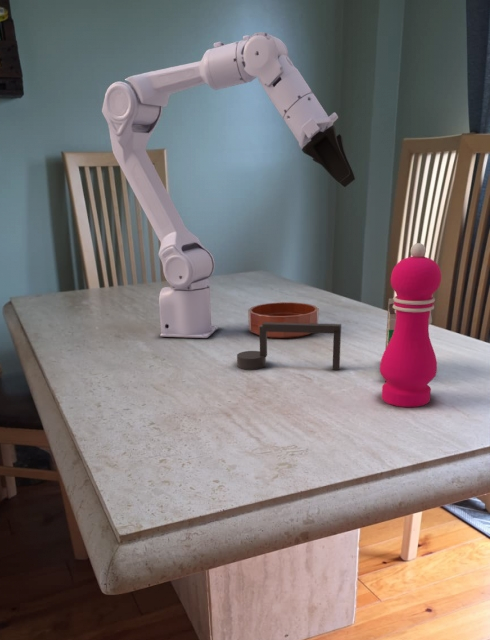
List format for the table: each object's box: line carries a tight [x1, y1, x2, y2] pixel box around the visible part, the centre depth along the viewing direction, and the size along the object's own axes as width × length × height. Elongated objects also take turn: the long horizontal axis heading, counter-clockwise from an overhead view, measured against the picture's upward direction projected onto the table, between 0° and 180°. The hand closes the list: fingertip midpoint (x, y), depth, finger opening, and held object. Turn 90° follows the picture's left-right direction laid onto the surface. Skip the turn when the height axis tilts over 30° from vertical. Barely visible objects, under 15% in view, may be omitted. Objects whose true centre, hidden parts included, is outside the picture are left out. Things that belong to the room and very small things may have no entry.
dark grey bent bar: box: [236, 322, 342, 371], centre depth 97 cm, size 16×5×7 cm, turn 76°
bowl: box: [247, 301, 319, 339], centre depth 119 cm, size 13×13×4 cm
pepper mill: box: [379, 242, 442, 408], centre depth 79 cm, size 7×7×20 cm
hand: (347, 180), depth 98 cm, fingers open, 7 cm apart
